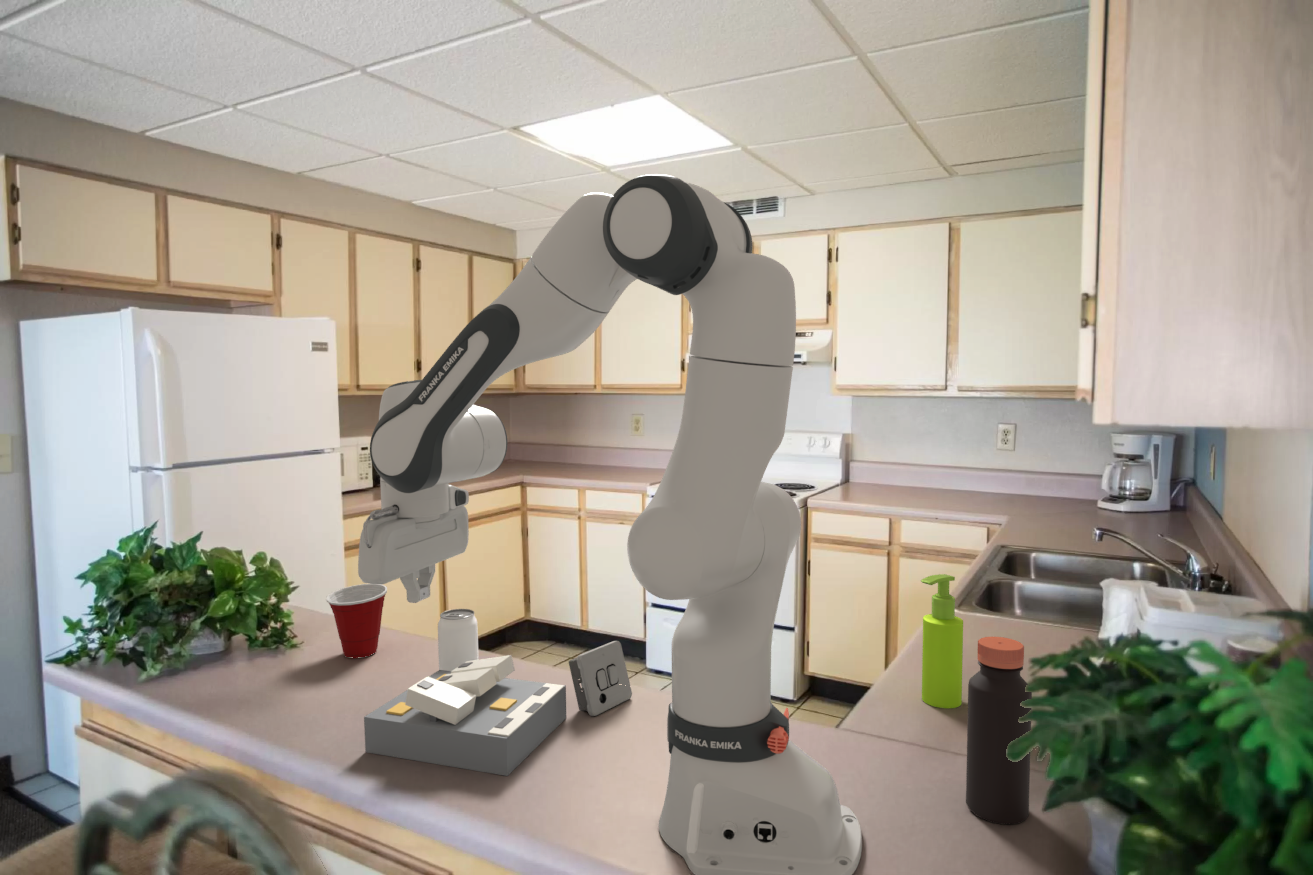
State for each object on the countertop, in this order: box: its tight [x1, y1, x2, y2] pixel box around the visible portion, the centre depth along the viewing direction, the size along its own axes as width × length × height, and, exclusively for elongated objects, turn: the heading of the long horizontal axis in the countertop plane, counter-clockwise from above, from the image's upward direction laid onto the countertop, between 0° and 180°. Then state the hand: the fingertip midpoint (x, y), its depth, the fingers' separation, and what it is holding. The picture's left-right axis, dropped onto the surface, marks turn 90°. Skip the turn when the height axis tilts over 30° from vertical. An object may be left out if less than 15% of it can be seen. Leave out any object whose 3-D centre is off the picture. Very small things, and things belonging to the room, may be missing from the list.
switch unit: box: [363, 669, 567, 777], centre depth 112 cm, size 22×18×6 cm
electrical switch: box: [568, 640, 633, 717], centre depth 122 cm, size 9×5×9 cm, turn 141°
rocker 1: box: [405, 676, 476, 725], centre depth 106 cm, size 8×4×3 cm, turn 72°
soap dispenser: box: [920, 573, 964, 710], centre depth 121 cm, size 6×7×20 cm
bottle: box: [965, 636, 1033, 825], centre depth 90 cm, size 7×7×20 cm
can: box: [437, 608, 479, 671], centre depth 130 cm, size 6×6×12 cm
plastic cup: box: [325, 583, 388, 659], centre depth 145 cm, size 11×11×12 cm
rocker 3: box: [451, 654, 516, 682], centre depth 117 cm, size 8×4×2 cm, turn 72°
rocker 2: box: [438, 668, 496, 697], centre depth 112 cm, size 8×4×3 cm, turn 72°
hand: (418, 599), depth 106 cm, fingers closed
